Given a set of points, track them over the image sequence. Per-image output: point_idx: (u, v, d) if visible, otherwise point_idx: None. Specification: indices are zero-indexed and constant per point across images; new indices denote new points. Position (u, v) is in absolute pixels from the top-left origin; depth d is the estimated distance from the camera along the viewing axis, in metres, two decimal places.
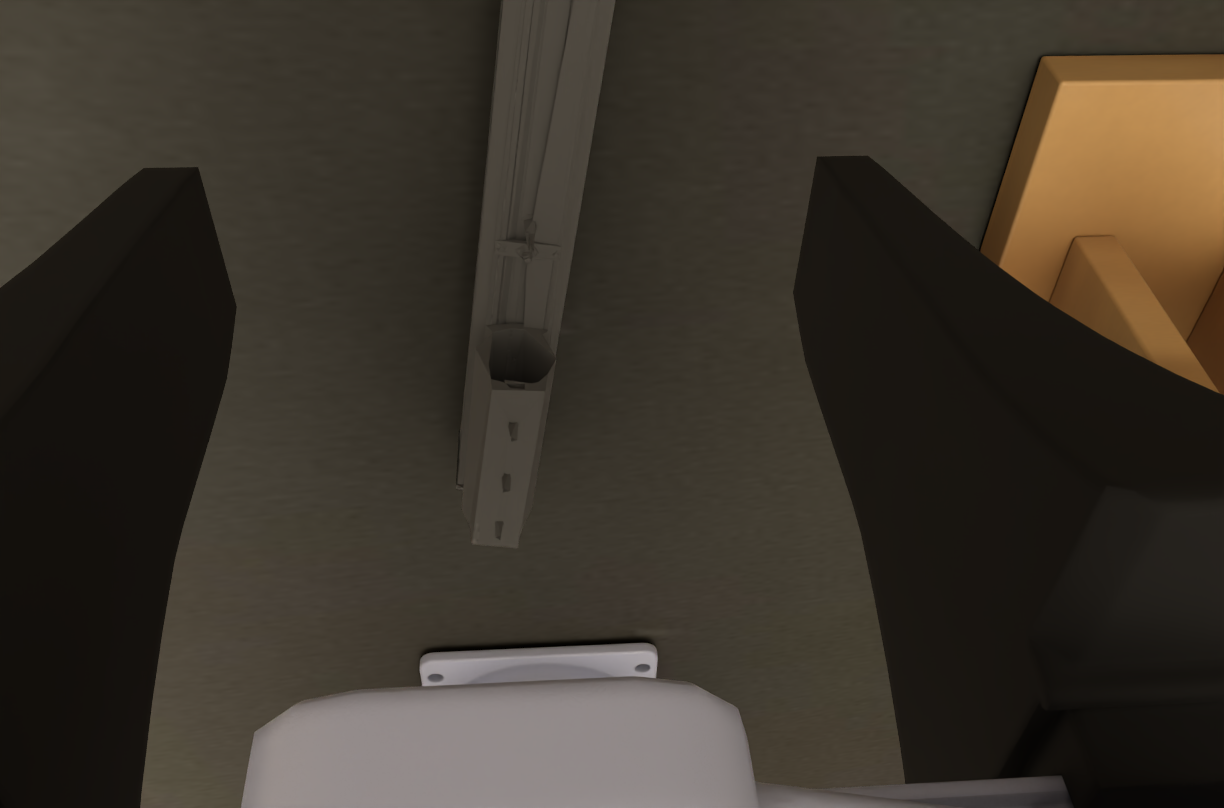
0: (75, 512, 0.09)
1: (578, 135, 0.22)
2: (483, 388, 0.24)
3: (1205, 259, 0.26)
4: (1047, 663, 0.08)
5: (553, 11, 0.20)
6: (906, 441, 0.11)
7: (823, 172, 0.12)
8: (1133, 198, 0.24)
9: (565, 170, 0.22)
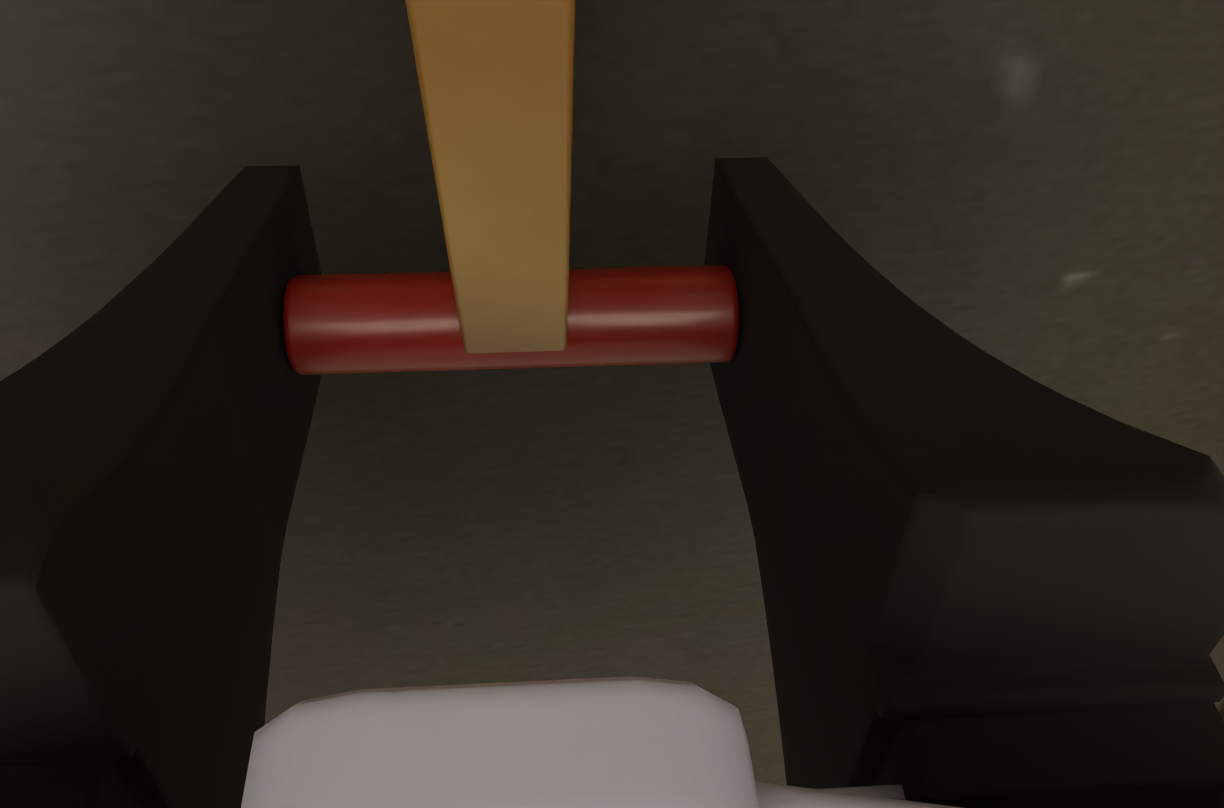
0: (210, 507, 0.09)
1: None
2: None
3: None
4: (885, 671, 0.08)
5: None
6: (784, 445, 0.10)
7: (720, 174, 0.12)
8: None
9: None
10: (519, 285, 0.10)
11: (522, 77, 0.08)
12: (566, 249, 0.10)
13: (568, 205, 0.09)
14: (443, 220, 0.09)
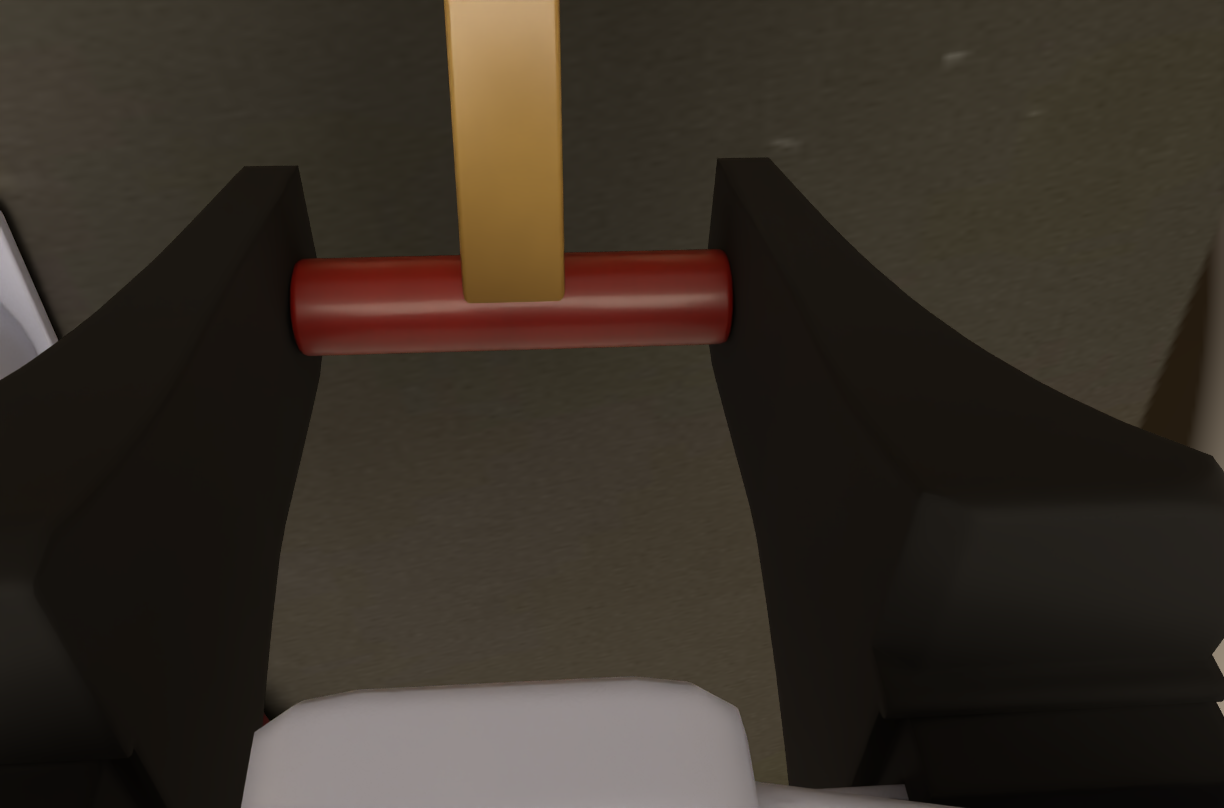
0: (208, 507, 0.09)
1: None
2: None
3: None
4: (887, 671, 0.08)
5: None
6: (786, 445, 0.10)
7: (721, 174, 0.12)
8: None
9: None
10: (516, 174, 0.11)
11: None
12: (558, 112, 0.11)
13: (558, 42, 0.11)
14: (449, 63, 0.11)
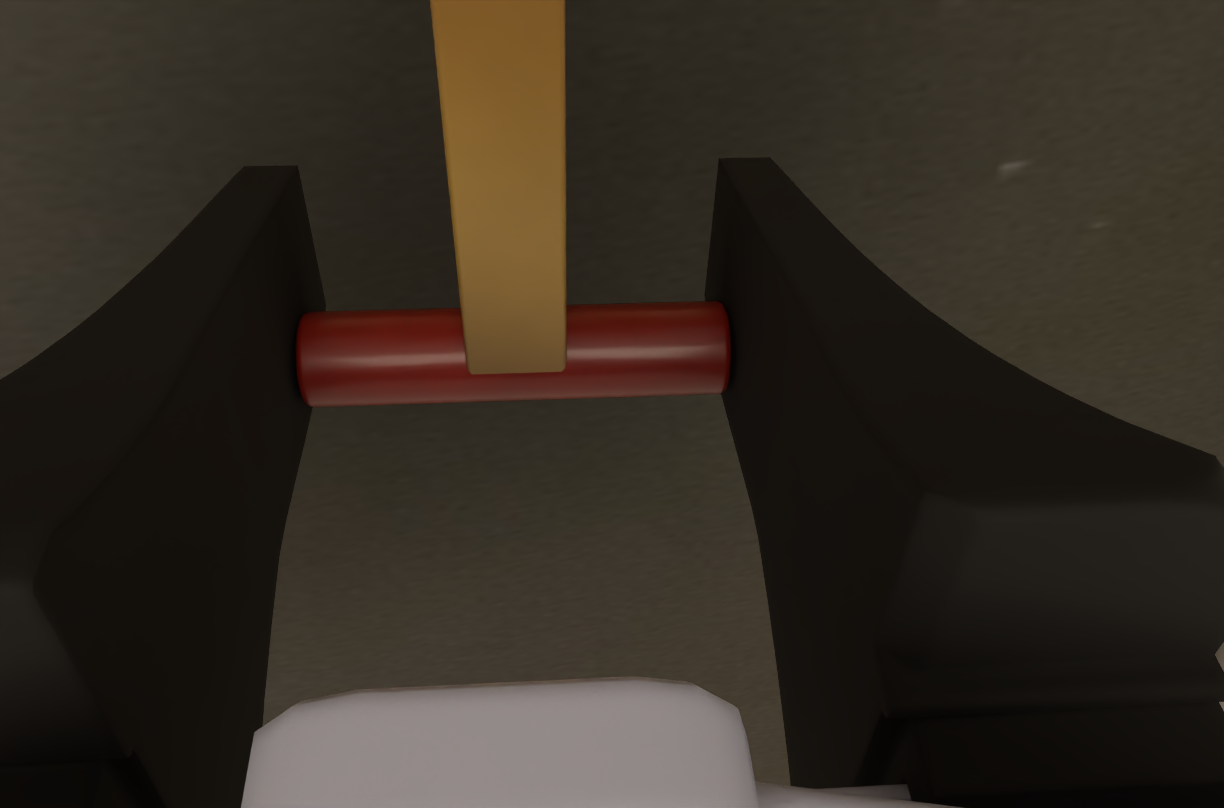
0: (208, 507, 0.09)
1: None
2: None
3: None
4: (890, 671, 0.08)
5: None
6: (788, 445, 0.10)
7: (723, 174, 0.12)
8: None
9: None
10: (519, 276, 0.11)
11: (520, 4, 0.09)
12: (563, 227, 0.11)
13: (563, 169, 0.10)
14: (449, 188, 0.10)
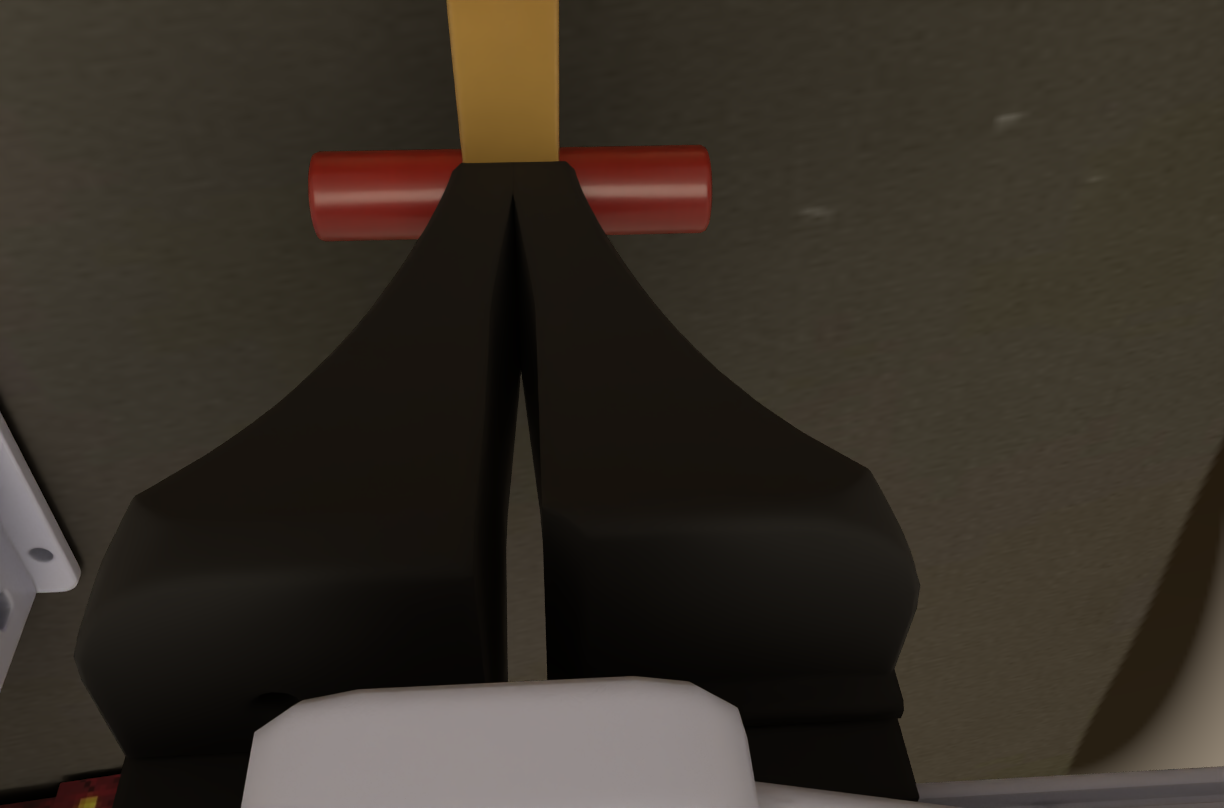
0: (495, 496, 0.09)
1: None
2: None
3: None
4: None
5: None
6: None
7: None
8: None
9: None
10: (516, 120, 0.12)
11: None
12: (556, 74, 0.12)
13: (557, 19, 0.11)
14: (451, 36, 0.11)
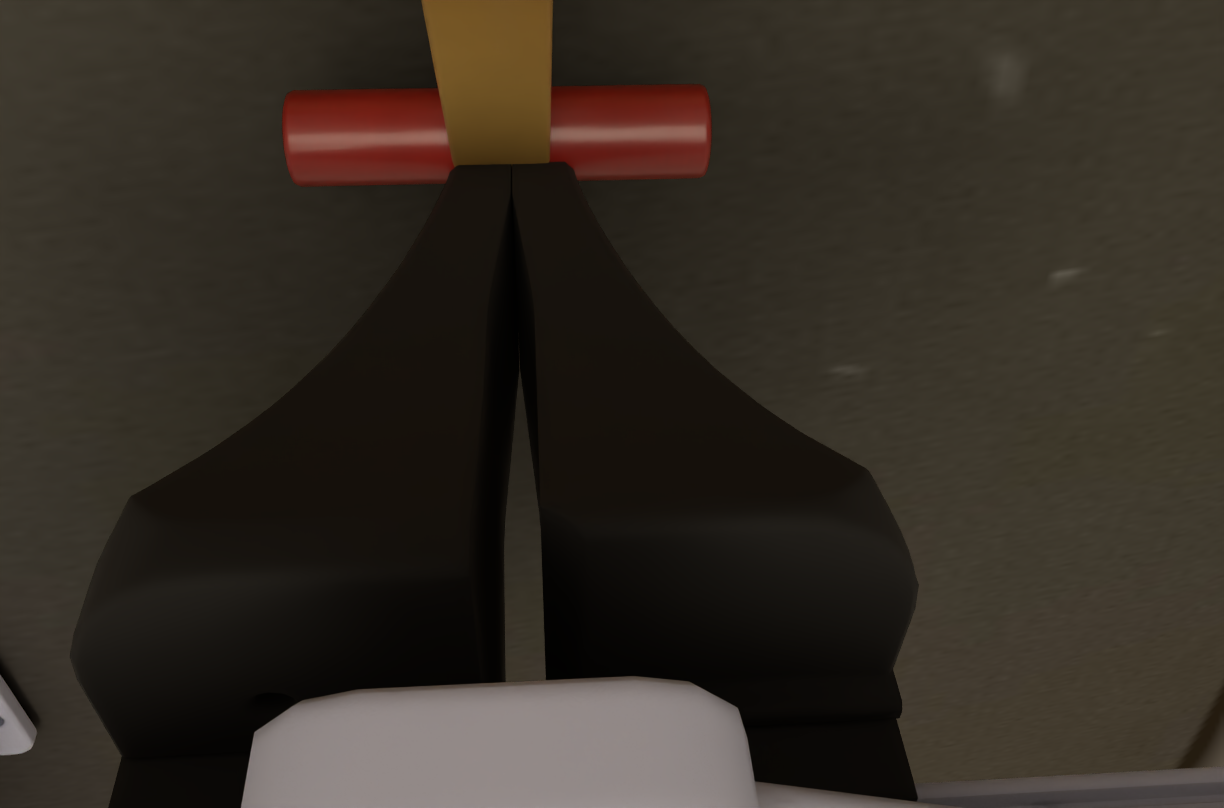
0: (492, 496, 0.09)
1: None
2: None
3: None
4: None
5: None
6: None
7: None
8: None
9: None
10: (504, 112, 0.11)
11: None
12: (548, 82, 0.11)
13: (550, 44, 0.10)
14: (433, 57, 0.10)
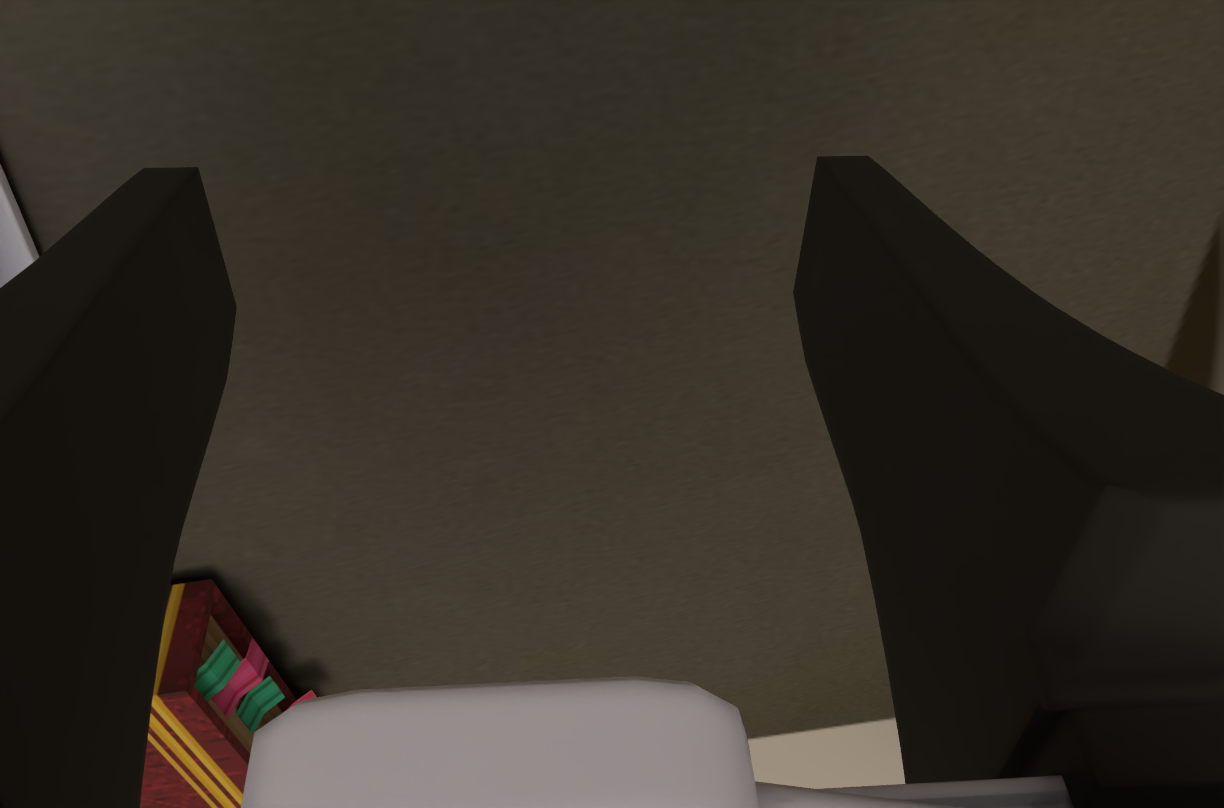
0: (75, 512, 0.09)
1: None
2: None
3: None
4: (1048, 663, 0.08)
5: None
6: (906, 441, 0.11)
7: (824, 172, 0.12)
8: None
9: None
10: None
11: None
12: None
13: None
14: None
